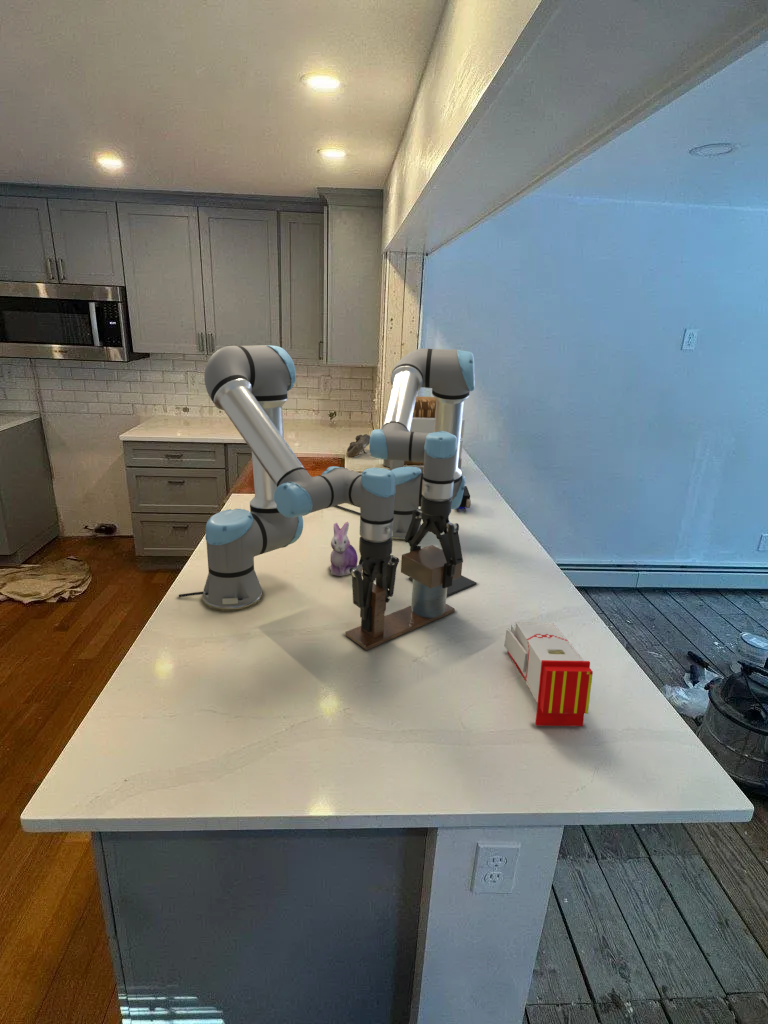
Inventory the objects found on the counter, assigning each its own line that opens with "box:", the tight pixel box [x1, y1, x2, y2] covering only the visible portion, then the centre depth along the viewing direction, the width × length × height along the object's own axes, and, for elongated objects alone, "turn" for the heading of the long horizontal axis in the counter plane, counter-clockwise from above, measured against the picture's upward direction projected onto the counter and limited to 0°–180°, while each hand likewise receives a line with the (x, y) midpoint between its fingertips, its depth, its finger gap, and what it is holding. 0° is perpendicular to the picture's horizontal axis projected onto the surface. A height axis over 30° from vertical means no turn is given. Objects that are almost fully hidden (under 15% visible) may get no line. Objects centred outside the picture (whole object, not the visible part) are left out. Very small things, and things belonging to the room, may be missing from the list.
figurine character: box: [456, 485, 472, 513], centre depth 228 cm, size 7×8×15 cm
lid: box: [400, 544, 463, 588], centre depth 144 cm, size 11×11×5 cm
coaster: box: [408, 574, 477, 598], centre depth 166 cm, size 14×14×1 cm
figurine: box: [329, 521, 359, 577], centre depth 168 cm, size 9×10×15 cm
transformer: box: [383, 395, 465, 471], centre depth 268 cm, size 34×33×41 cm
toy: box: [503, 622, 594, 727], centre depth 121 cm, size 12×13×30 cm
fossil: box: [346, 433, 371, 458], centre depth 305 cm, size 22×10×15 cm
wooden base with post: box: [345, 579, 455, 651], centre depth 141 cm, size 30×9×13 cm, turn 131°
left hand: (372, 626), depth 136 cm, fingers closed on wooden base with post, 3 cm apart
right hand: (430, 577), depth 146 cm, fingers closed on lid, 11 cm apart
